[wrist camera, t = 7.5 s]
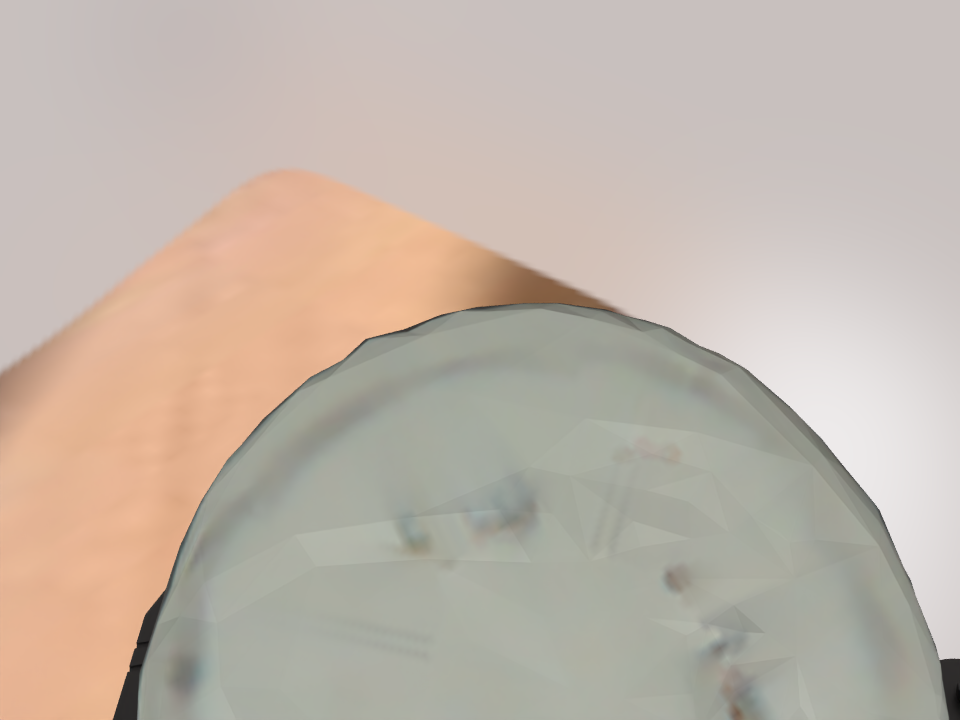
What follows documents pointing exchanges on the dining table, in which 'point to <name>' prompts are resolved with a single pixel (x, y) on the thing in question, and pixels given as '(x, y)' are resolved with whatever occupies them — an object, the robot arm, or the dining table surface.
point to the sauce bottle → (537, 544)
